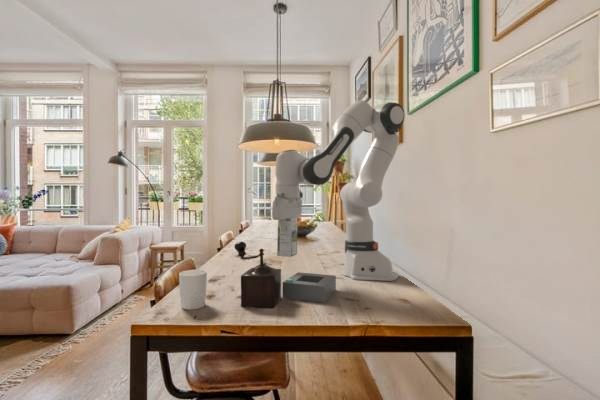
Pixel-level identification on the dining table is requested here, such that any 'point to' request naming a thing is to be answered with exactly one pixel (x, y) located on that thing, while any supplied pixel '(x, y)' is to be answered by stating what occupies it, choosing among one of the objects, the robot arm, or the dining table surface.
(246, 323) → the dining table surface
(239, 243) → the manual coffee grinder
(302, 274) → the port block
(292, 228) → the syrup box
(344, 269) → the robot arm
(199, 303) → the white cup
